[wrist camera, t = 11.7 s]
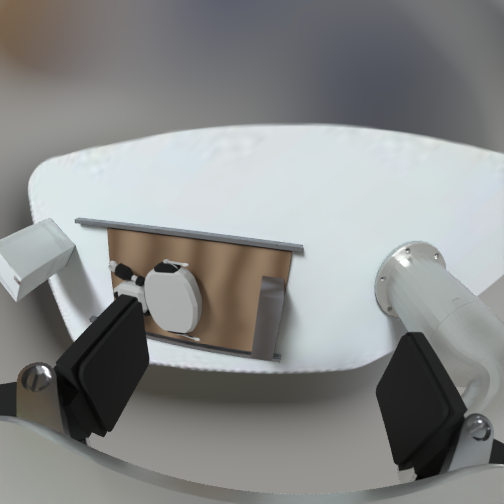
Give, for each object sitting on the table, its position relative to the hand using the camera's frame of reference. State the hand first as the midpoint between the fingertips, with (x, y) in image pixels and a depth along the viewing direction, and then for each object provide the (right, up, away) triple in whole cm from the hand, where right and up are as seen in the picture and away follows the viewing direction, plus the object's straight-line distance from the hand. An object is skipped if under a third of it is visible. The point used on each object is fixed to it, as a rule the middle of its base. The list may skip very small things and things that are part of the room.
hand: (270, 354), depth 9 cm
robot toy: (-15, -2, +32) cm, 36 cm away
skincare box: (-36, +5, +32) cm, 49 cm away
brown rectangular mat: (-10, -3, +32) cm, 34 cm away
